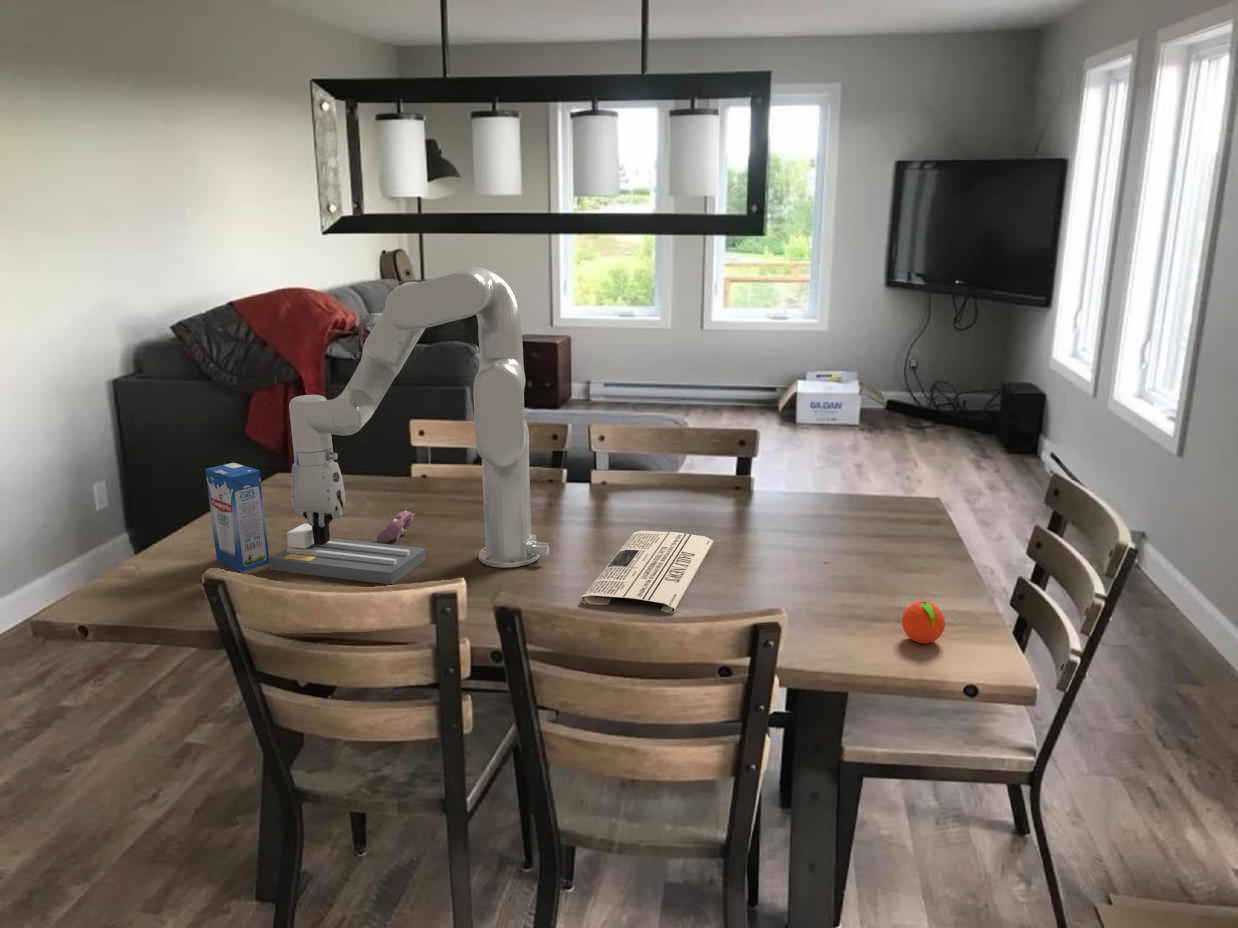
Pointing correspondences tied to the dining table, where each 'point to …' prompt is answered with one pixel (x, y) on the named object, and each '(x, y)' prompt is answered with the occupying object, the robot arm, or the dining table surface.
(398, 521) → the video game controller
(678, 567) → the newspaper
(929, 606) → the clementine
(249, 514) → the milk carton
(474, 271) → the robot arm
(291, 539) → the fader knob
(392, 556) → the fader console
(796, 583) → the dining table surface
